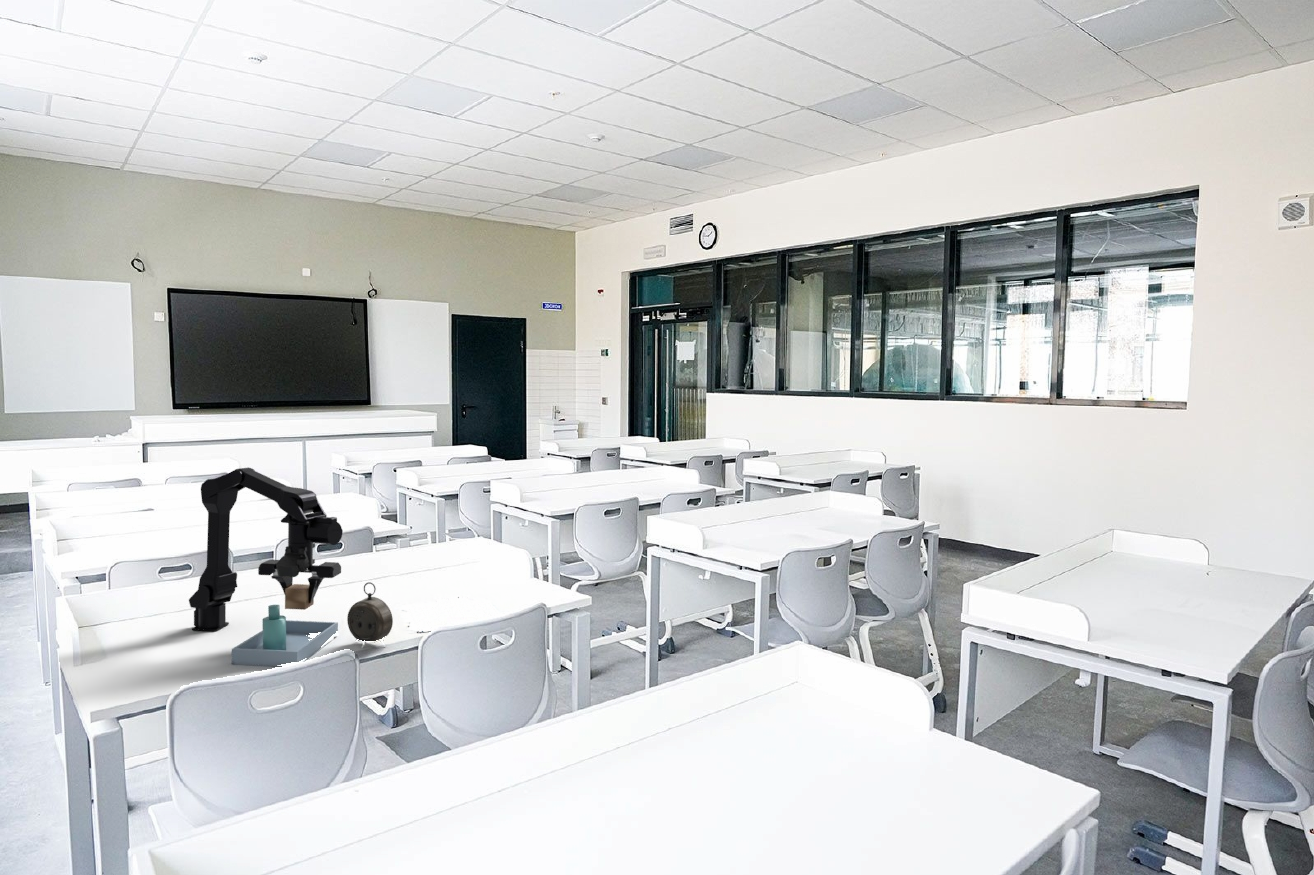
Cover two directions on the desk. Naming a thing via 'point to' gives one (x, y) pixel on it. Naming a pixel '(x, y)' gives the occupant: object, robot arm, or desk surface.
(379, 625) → the alarm clock
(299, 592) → the walnut cube
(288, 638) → the tray
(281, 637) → the teal canister
